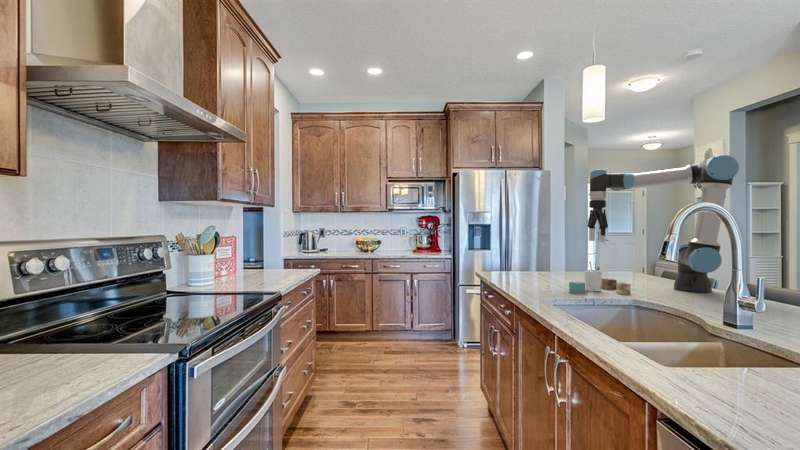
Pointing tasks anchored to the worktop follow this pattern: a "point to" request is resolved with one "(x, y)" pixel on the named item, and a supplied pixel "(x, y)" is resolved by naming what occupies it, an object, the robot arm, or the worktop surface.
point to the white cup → (593, 280)
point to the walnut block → (609, 284)
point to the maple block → (623, 288)
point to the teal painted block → (577, 287)
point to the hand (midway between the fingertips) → (596, 241)
